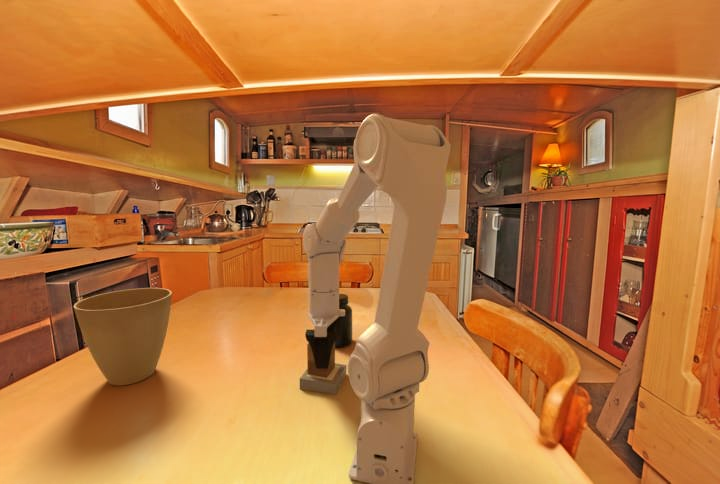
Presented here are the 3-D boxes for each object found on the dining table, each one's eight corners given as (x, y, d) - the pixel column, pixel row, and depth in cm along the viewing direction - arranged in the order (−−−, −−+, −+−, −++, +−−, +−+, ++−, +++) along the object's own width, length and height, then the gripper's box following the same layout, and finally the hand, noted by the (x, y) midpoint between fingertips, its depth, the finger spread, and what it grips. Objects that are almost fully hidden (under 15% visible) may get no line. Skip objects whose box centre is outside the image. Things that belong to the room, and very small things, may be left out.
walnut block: (327, 377, 56) (327, 347, 56) (307, 374, 57) (307, 344, 57) (334, 367, 60) (335, 338, 59) (316, 363, 61) (316, 335, 61)
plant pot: (187, 354, 69) (183, 286, 67) (155, 394, 54) (149, 308, 52) (113, 359, 66) (107, 288, 64) (58, 402, 52) (49, 312, 50)
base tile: (335, 394, 55) (335, 383, 54) (299, 388, 56) (299, 378, 56) (346, 374, 61) (346, 364, 61) (314, 369, 63) (314, 359, 63)
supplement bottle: (340, 334, 81) (340, 290, 79) (357, 342, 76) (358, 296, 75) (319, 342, 76) (319, 295, 75) (336, 351, 71) (337, 302, 70)
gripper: (344, 300, 50) (344, 377, 51) (345, 279, 64) (345, 340, 66) (301, 300, 49) (302, 378, 51) (312, 279, 64) (312, 340, 65)
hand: (324, 357), depth 58 cm, fingers open, 7 cm apart
